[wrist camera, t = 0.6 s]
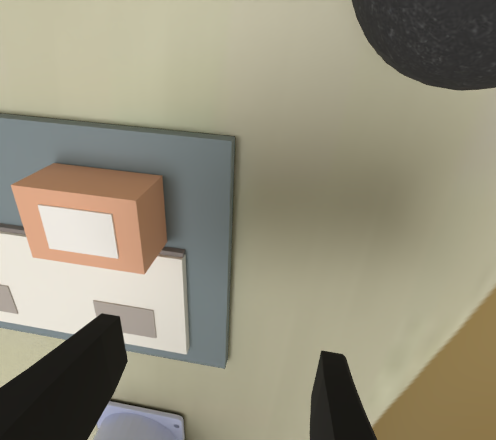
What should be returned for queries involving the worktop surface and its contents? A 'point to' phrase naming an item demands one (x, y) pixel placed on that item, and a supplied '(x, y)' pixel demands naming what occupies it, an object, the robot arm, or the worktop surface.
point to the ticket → (95, 294)
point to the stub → (93, 216)
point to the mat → (175, 200)
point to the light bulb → (434, 39)
